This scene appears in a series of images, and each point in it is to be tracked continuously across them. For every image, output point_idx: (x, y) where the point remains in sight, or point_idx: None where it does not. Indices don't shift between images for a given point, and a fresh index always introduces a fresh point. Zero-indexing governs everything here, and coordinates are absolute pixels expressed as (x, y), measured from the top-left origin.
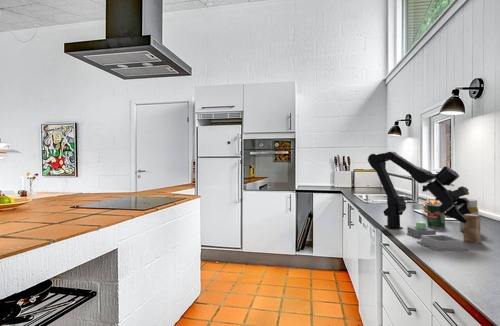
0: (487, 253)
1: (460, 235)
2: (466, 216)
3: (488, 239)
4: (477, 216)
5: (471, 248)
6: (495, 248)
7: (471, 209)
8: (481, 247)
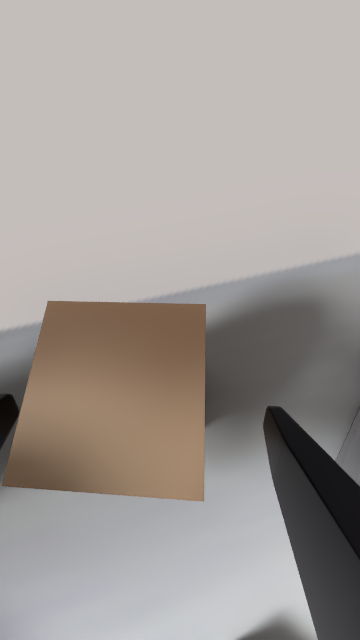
0: (354, 280)
1: (35, 502)
2: (203, 439)
3: None
4: (161, 306)
5: (330, 351)
6: (229, 281)
7: None
8: (264, 325)
